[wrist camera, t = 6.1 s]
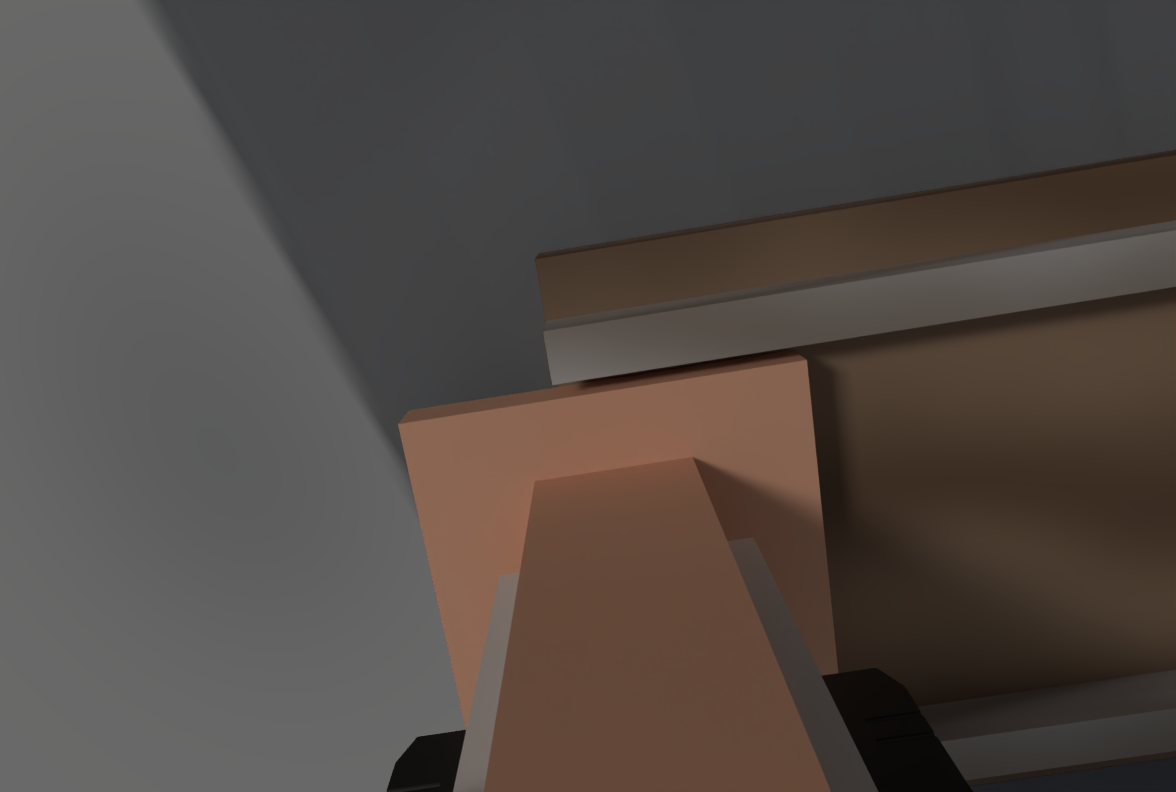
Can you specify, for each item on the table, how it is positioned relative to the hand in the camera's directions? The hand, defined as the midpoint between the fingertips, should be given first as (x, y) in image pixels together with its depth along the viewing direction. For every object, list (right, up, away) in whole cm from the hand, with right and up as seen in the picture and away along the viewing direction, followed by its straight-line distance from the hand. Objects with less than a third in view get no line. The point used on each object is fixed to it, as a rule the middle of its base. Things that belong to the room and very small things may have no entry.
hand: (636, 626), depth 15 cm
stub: (0, +1, +2) cm, 2 cm away
